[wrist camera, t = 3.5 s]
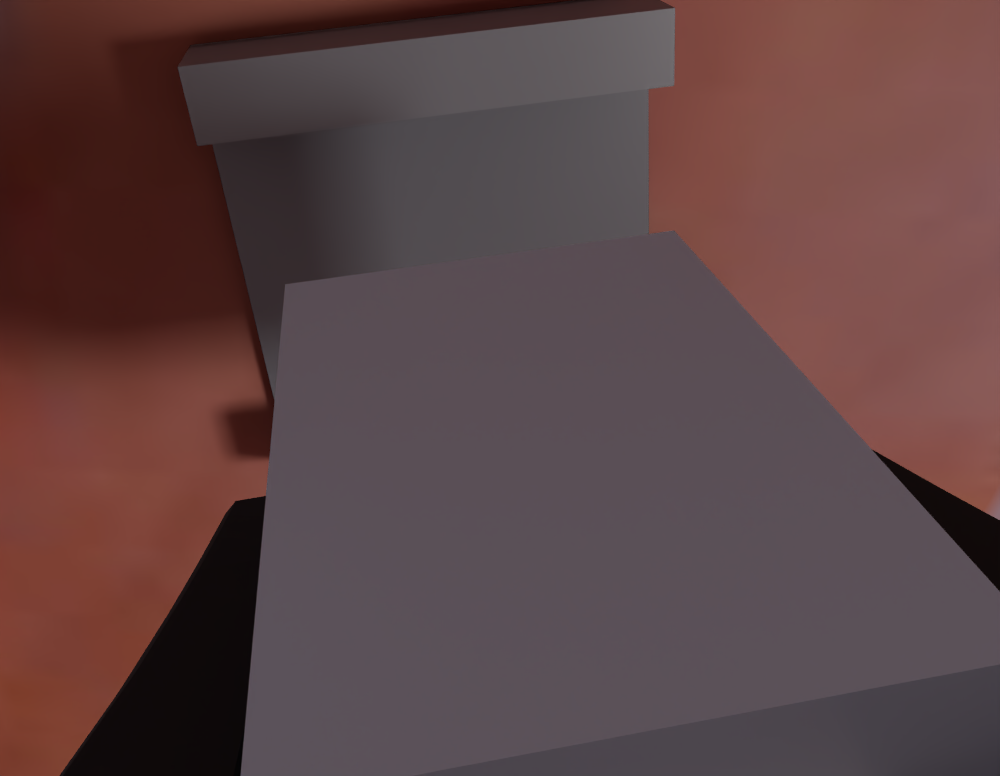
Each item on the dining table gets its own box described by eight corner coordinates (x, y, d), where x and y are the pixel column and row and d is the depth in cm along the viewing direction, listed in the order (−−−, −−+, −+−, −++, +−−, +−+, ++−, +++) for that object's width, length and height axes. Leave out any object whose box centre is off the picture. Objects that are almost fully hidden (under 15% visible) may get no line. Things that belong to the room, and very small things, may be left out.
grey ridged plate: (645, 404, 17) (669, 447, 16) (290, 461, 17) (288, 509, 15) (643, -8, 14) (675, 7, 12) (190, 45, 13) (177, 66, 12)
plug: (670, 533, 12) (985, 1160, 6) (349, 587, 11) (374, 1308, 6) (673, 230, 10) (1146, 754, 4) (284, 284, 9) (227, 937, 4)
